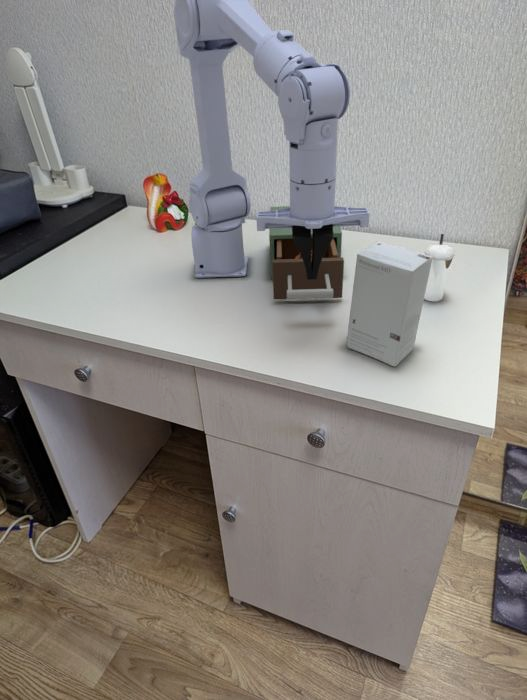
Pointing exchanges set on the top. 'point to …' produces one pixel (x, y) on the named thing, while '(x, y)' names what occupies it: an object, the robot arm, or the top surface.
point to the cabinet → (287, 234)
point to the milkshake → (438, 269)
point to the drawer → (293, 273)
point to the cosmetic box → (387, 301)
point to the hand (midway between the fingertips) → (311, 276)
